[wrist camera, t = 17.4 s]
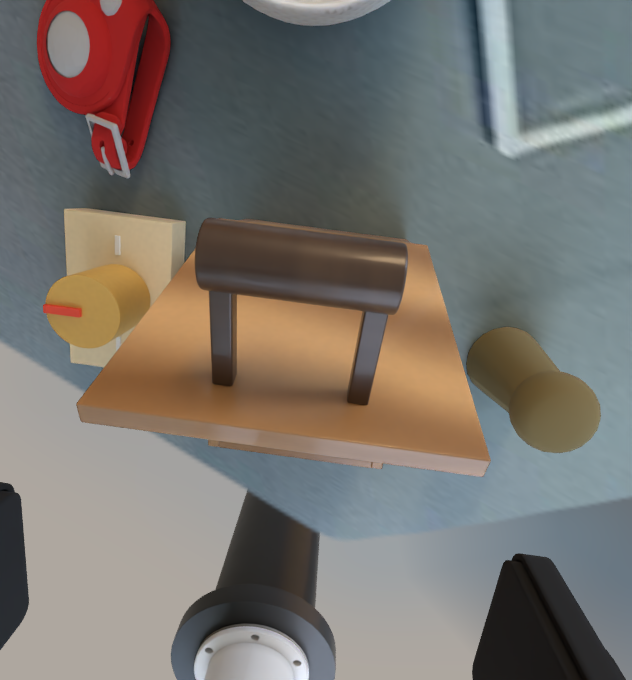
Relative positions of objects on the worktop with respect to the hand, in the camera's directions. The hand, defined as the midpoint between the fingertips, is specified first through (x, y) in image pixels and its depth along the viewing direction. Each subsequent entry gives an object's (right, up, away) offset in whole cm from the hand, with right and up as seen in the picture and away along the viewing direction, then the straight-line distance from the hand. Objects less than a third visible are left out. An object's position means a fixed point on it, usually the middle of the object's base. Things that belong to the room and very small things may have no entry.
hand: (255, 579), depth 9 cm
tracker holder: (-14, +23, +24) cm, 36 cm away
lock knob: (-14, +8, +26) cm, 30 cm away
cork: (+17, +3, +29) cm, 34 cm away
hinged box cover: (+1, +6, +12) cm, 13 cm away
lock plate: (-14, +9, +29) cm, 33 cm away
